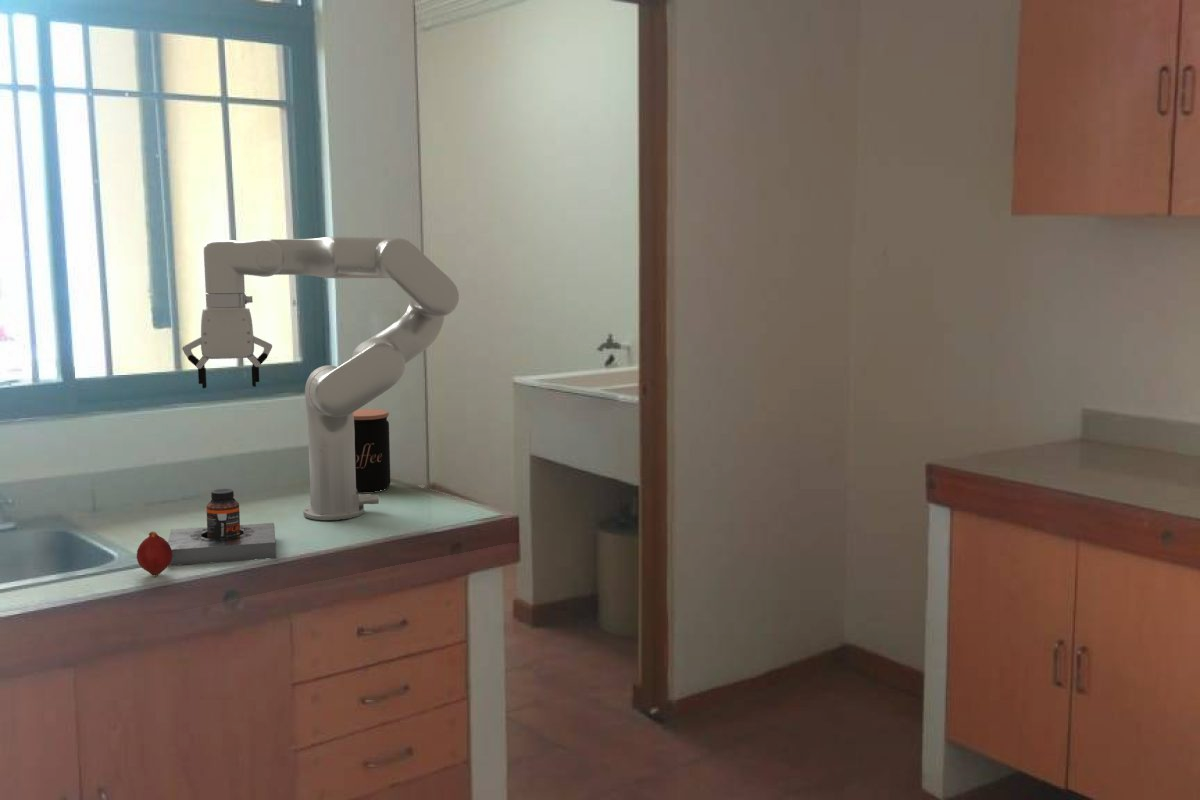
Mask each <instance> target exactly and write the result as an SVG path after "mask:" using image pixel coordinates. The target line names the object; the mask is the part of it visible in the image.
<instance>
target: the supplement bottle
mask: <svg viewBox="0 0 1200 800" xmlns="http://www.w3.org/2000/svg"><path fill="white" fill-rule="evenodd" d="M210 493H211V500H210V501H209V502H208V503H207V504H206V527H207V538H208V539H227V538H233V537H237V536H240V525H241V524H240V523H241V521H240V520H241V519H240V516H241V515H240V503H239V502H238V501H237V500H236V499H235V498H234V496H235V494H234V489H232V488H219V489H218V488H217V489H214V490H212V491H211V492H210Z"/></svg>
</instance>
